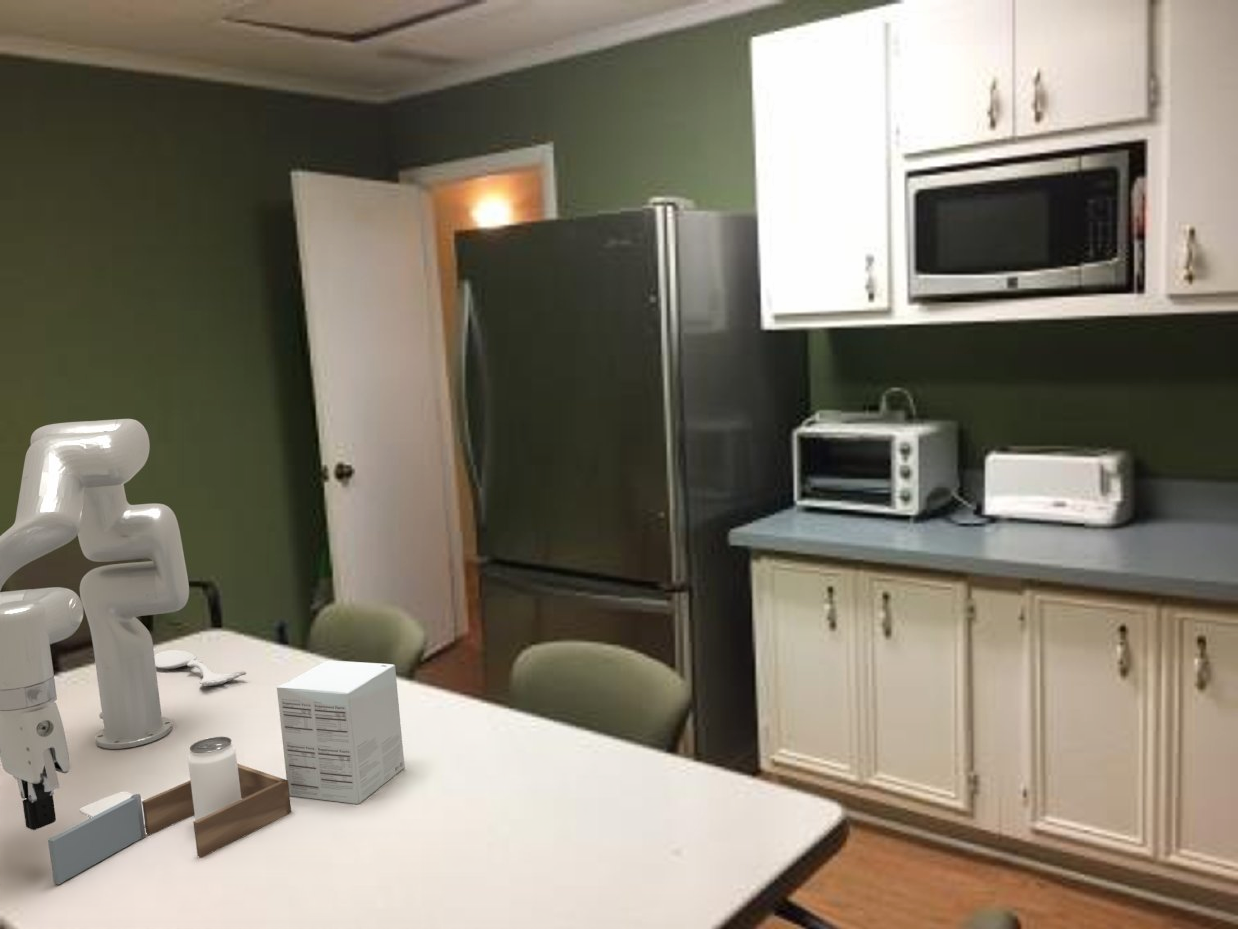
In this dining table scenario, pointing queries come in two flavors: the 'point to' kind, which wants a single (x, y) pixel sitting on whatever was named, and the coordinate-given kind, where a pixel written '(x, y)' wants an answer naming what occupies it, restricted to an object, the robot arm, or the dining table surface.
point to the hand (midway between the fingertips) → (41, 824)
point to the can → (213, 775)
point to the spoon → (183, 658)
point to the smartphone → (106, 804)
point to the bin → (222, 810)
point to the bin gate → (96, 838)
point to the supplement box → (341, 730)
